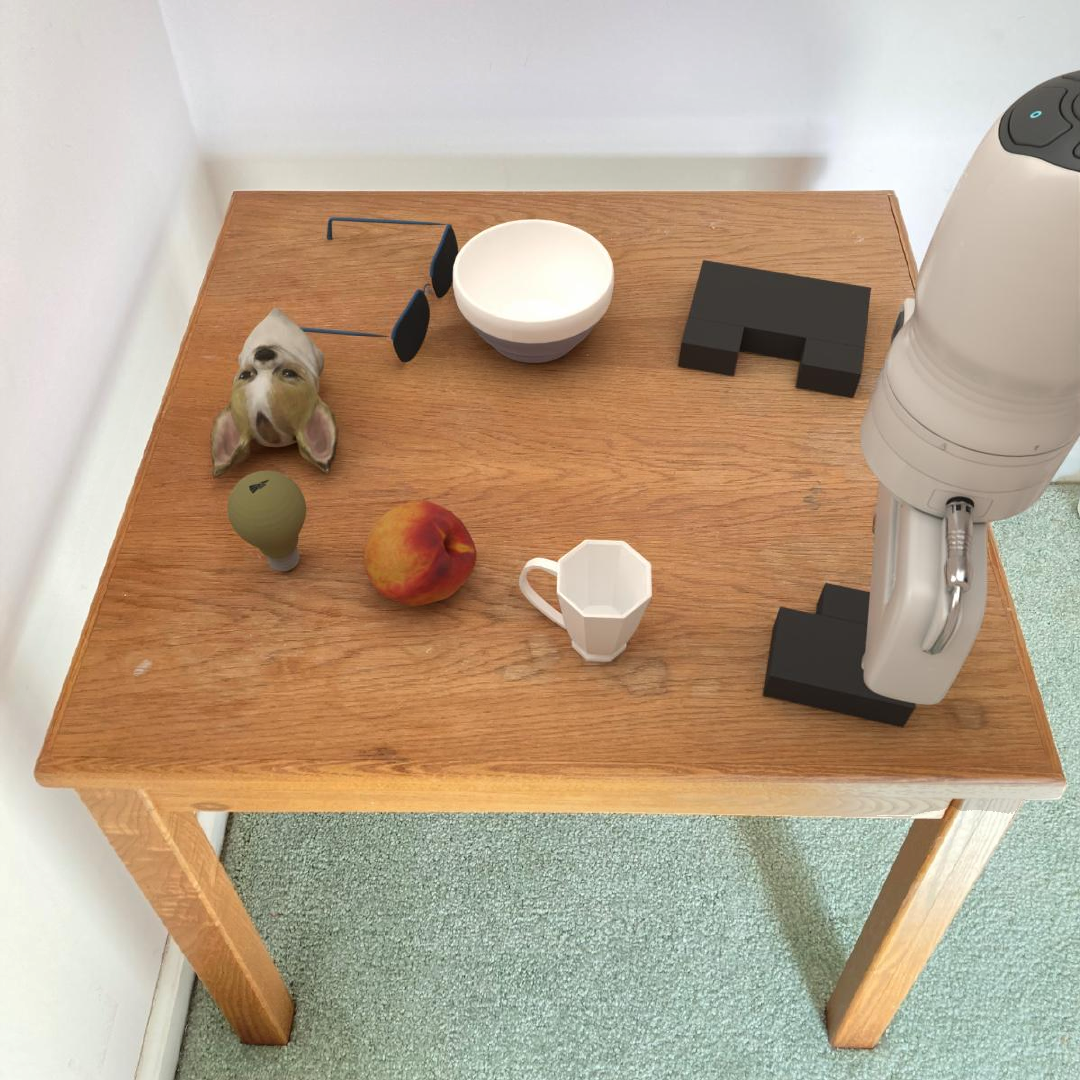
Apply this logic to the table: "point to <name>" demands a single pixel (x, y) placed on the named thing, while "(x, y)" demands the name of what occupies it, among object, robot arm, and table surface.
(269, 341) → the ceramic sculpture
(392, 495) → the table surface
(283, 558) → the light bulb
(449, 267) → the sunglasses
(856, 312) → the base pad
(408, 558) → the fruit
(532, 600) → the cup
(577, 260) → the bowl
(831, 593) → the black stepped block
